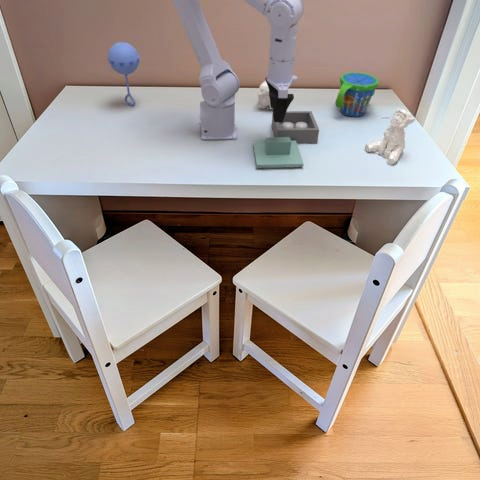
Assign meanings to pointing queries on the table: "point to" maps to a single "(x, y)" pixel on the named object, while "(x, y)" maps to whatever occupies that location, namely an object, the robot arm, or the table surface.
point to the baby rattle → (124, 62)
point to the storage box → (297, 127)
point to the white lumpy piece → (264, 96)
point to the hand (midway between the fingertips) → (276, 114)
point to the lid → (277, 153)
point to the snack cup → (355, 93)
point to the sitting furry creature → (392, 137)
